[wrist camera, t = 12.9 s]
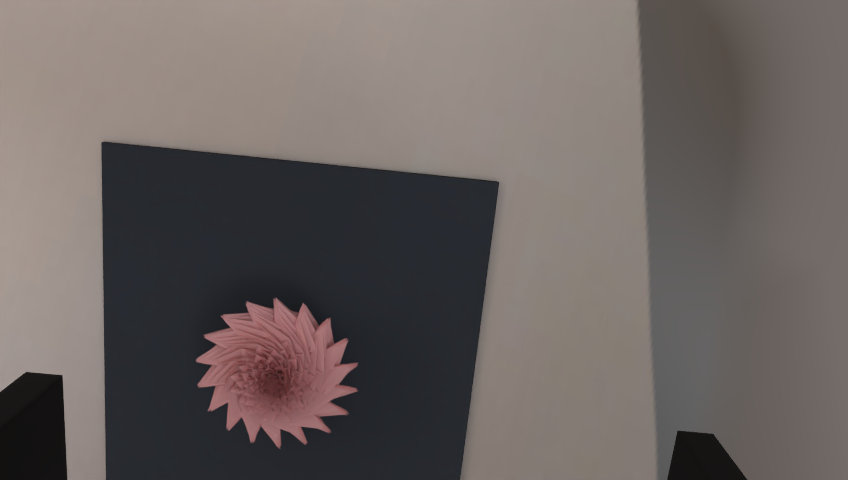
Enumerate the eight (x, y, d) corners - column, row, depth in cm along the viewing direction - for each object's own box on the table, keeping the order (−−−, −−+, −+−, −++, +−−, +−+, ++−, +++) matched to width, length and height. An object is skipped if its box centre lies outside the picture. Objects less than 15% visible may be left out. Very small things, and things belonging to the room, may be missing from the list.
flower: (385, 306, 37) (380, 348, 31) (334, 432, 38) (320, 492, 33) (243, 253, 36) (211, 287, 30) (198, 384, 38) (161, 438, 32)
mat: (498, 181, 35) (499, 182, 35) (454, 519, 40) (454, 522, 40) (103, 141, 35) (101, 142, 34) (108, 489, 40) (106, 492, 39)
